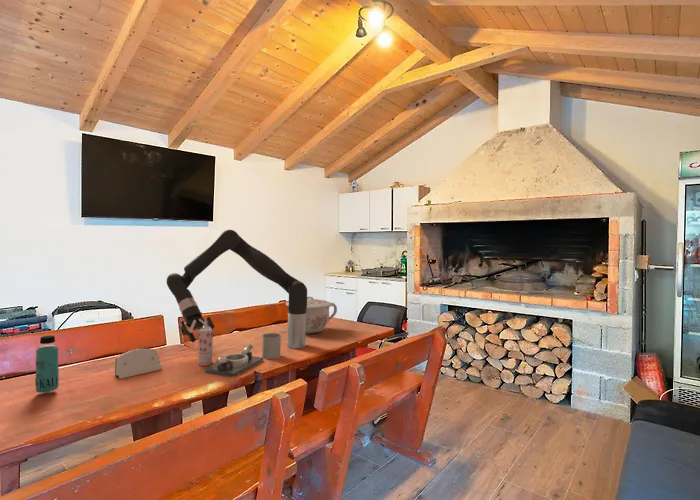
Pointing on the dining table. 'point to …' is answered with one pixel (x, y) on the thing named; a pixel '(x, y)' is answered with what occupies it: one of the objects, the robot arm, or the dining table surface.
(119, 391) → the dining table surface
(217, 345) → the dining table surface
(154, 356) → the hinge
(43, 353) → the beverage bottle
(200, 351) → the beverage can
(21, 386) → the dining table surface
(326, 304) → the chamber pot
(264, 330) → the dining table surface
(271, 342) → the cup
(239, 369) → the base
